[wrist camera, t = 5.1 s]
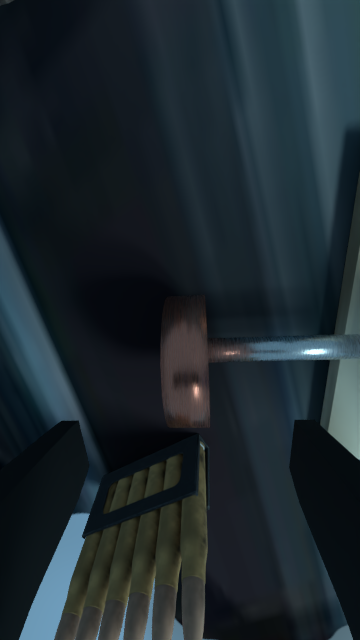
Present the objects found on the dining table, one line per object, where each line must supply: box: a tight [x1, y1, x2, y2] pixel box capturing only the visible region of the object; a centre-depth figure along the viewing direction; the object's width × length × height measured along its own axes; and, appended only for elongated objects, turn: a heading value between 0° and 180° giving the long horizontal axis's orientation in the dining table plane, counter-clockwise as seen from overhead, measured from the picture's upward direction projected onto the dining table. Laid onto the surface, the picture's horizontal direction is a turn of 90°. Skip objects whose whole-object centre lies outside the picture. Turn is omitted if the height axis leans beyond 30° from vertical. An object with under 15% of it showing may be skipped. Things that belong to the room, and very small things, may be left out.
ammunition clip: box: [54, 433, 210, 640], centre depth 17 cm, size 11×2×12 cm, turn 123°
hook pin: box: [161, 295, 360, 428], centre depth 14 cm, size 12×7×7 cm, turn 93°
